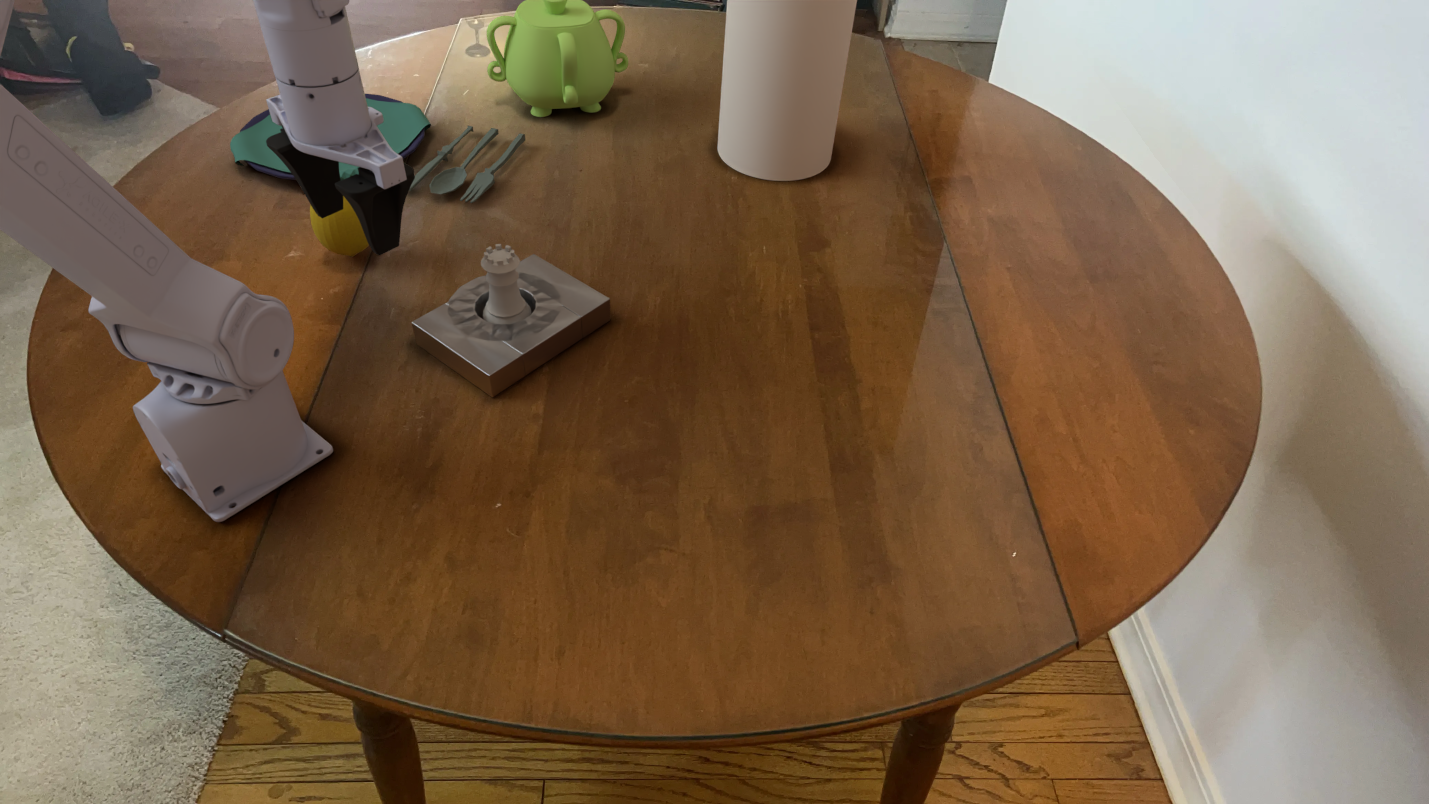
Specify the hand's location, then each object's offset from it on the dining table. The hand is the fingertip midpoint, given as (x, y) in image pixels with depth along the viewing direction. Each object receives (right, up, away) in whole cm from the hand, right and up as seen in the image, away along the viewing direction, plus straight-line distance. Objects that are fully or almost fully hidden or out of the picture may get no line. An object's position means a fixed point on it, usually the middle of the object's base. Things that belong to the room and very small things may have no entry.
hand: (358, 230), depth 74 cm
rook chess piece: (+11, -7, +7) cm, 15 cm away
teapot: (+10, +25, +40) cm, 48 cm away
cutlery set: (-8, +13, +27) cm, 31 cm away
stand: (+12, -8, +6) cm, 15 cm away
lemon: (-6, 0, +13) cm, 14 cm away
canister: (+36, +15, +33) cm, 51 cm away
